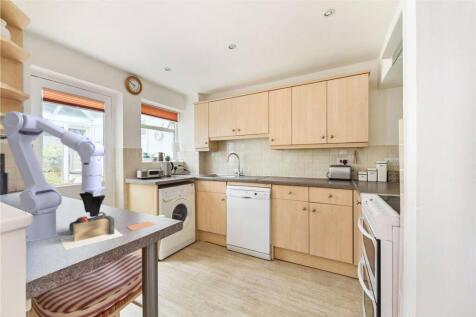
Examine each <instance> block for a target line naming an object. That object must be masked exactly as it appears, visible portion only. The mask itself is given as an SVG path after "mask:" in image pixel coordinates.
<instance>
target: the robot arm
mask: <svg viewBox="0 0 476 317" xmlns="http://www.w3.org/2000/svg"><path fill="white" fill-rule="evenodd" d="M1 125H2V127H3V130H4V133H5V134H6V142H7V144H8V147H9V149H10V152H11V154H12V156H13V158H14V162H15V164H16V167H17V169H18V172H19V173H20V176H21V179H22V181H23V183H24V187H25V189H24V190H23V191H22V192H21V193H20V194H19V198H20V209H21V211H23V212H24V211H25V212H28V213H31V214H32V215H33V223H32V225H31V226H30V227H28V228H27V230H26V236H27V237H26V239H27V243H31V242H36V241H40V240H46V239H50V238H55V237H59V236H60V235H59V232H58V231H57V210H58V209H59V206H60V205H61V204H62V202H63V198H62V195H61V193H60V192H59V191H58V190H57V188H56V187H55V186H54V185H52V184H50V183H48V182H47V180H46V177H45V174H44V173H43V169H42V167H41V164H40V162H39V160H38V157H37V154H36V153H35V149H34V147H33V144H32V142H33V141H35V140H37V139H38V138H39V136H41V135H42V134H43V133H44V132H45V133H47V134H49V135H51V136H53V137H55V138H58V139H60V143H61V144H62V145H64V146H65V147H67V148H69V149H71V150H73V151H75V152H76V153H77V155H78V156H79V158H80V162H81V188H80V193H78V195H79V196H80V198H81V200H82V204H83V207H84V211H85V213H87V214H88V213H89V215H90V216H91V217H94V216H98V215H99V212H101V211H100V210H101V207H102V203H103V202H104V200H105V198H106V195H103V194H102V195H101V191H102V190H105V189H106V186H102V179H103V178H102V177H103V176H102V175H103V174H102V170H103V168H102V167H103V164H102V163H103V162H102V161H103V160H102V158H103V156H104V155H105V153H106V146H105V145H104V144H103V143H102V142H100V141H93V139H92V138H91V137H86V136H84V135H83V134H81V132H80V131H79V130H72V129H71V130H66V129H64V128H62V127H61V126H59V125H57V124H56V123H54V122H52V121H51V120H50V119H49V118H44V117H43V116H40V115H33V114H28V113H24V112H23V113H22V112H19V111H17V110H11V111H8V112H7V113H6V114H5V115H4V117H3V118H2V120H1ZM25 212H24V213H25ZM28 240H29V241H30V242H28Z"/></svg>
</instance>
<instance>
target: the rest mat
mask: <svg viewBox="0 0 476 317" xmlns="http://www.w3.org/2000/svg"><path fill="white" fill-rule="evenodd" d="M123 236H124V235H123V234H122V233H121V232H120V231H119V230H117V229H116V228H115V227H114V234H111V235H110V234H106V235H101V236H97V237H93V238H89V239H84V240H80V241H76V242H75V241H74V240H73V235H72V236H67V237H62V238H59V239H60V241H61V244H62V246H63V249H64V250H65V251H67V250H71V249H75V248H79V247H83V246H87V245H91V244H95V243H99V242H103V241H107V240H112V239H114V238H115V239H116V238H119V237H123Z"/></svg>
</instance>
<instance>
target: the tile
mask: <svg viewBox="0 0 476 317" xmlns="http://www.w3.org/2000/svg"><path fill="white" fill-rule="evenodd" d="M152 226H156V224H154V223H153V222H151V221H145V222H139V223H136V224H131V225H127V226H125V227H126V228H127V229H128V230H130V231H133V232H134V231H136V230H141V229H145V228H148V227H152Z"/></svg>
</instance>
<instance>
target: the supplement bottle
mask: <svg viewBox="0 0 476 317" xmlns="http://www.w3.org/2000/svg"><path fill="white" fill-rule="evenodd" d="M106 216H107V214H106V213H105V212H103V211H99V215H98V216H94V217H91V216H90V214H88V215H84V216H80V217H78V218H77V219H76V220H74V221H70V223H69V225H68V226H69V228H68V229H69V232H70V233H72V234H73V224H79V223H84V222H90V221H95V220H100V219H106Z"/></svg>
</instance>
